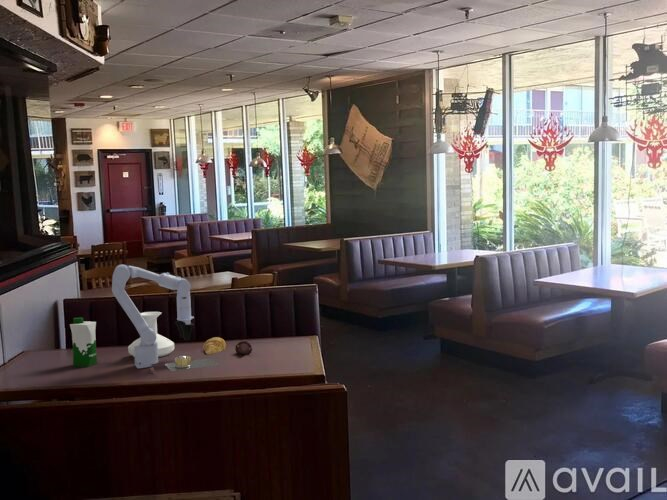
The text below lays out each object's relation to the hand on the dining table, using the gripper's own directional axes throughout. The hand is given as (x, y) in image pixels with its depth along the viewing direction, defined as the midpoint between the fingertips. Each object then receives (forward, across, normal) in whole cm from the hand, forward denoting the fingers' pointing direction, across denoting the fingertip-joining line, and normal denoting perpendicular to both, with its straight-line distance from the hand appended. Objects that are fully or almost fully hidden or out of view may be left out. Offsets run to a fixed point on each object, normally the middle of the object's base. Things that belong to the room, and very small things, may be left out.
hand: (185, 338), depth 289 cm
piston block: (+10, -11, 0) cm, 15 cm away
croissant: (+10, +13, -16) cm, 23 cm away
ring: (+8, -12, +4) cm, 15 cm away
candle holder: (+10, +19, +11) cm, 24 cm away
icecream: (+10, -2, -25) cm, 27 cm away
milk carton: (+10, +18, +39) cm, 44 cm away
